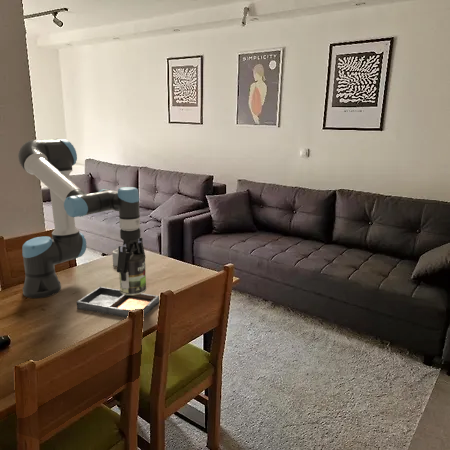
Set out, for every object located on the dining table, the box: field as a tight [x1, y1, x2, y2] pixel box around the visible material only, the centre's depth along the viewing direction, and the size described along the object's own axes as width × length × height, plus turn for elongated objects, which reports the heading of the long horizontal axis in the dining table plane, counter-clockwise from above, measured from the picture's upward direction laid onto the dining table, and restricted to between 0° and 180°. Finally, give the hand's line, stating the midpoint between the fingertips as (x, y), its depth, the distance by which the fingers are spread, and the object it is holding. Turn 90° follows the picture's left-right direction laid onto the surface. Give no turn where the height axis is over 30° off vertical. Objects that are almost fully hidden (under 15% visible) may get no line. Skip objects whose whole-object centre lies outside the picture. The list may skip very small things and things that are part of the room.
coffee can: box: [118, 253, 147, 295], centre depth 151 cm, size 10×10×14 cm
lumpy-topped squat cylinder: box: [111, 248, 133, 267], centre depth 202 cm, size 10×13×9 cm
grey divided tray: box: [76, 286, 160, 318], centre depth 157 cm, size 28×16×3 cm, turn 73°
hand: (132, 282), depth 152 cm, fingers closed on coffee can, 10 cm apart
